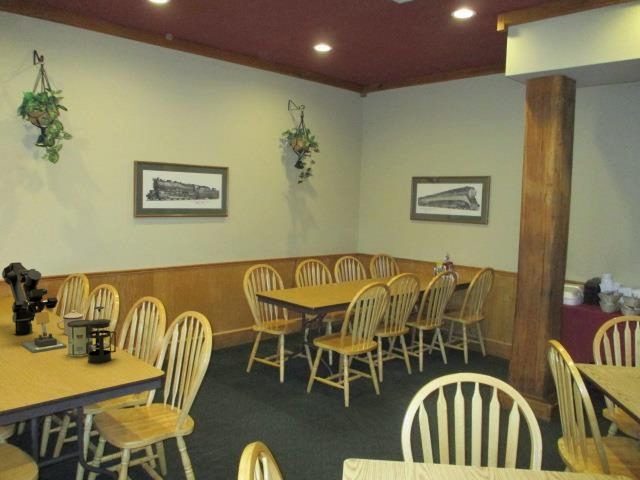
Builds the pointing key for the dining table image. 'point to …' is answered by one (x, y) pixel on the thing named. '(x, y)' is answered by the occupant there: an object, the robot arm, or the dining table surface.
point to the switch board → (32, 347)
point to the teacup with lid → (69, 320)
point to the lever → (42, 321)
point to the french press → (100, 341)
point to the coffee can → (79, 338)
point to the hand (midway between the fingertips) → (39, 319)
